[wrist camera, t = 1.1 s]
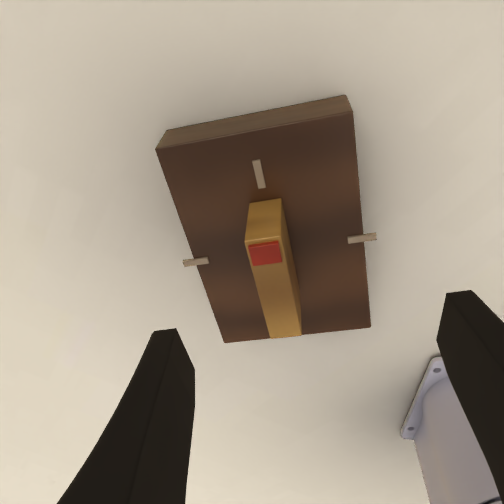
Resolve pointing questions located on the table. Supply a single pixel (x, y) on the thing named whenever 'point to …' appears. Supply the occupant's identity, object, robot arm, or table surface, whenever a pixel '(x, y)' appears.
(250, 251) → the thumb turn
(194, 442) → the table surface
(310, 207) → the plate
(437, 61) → the table surface
